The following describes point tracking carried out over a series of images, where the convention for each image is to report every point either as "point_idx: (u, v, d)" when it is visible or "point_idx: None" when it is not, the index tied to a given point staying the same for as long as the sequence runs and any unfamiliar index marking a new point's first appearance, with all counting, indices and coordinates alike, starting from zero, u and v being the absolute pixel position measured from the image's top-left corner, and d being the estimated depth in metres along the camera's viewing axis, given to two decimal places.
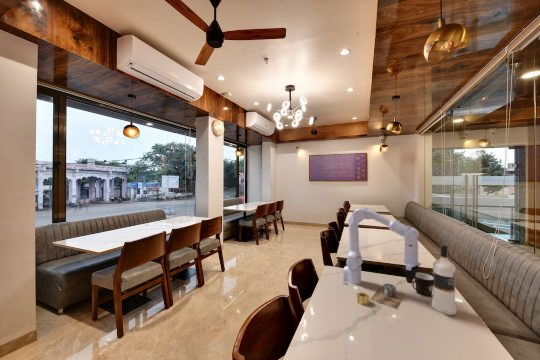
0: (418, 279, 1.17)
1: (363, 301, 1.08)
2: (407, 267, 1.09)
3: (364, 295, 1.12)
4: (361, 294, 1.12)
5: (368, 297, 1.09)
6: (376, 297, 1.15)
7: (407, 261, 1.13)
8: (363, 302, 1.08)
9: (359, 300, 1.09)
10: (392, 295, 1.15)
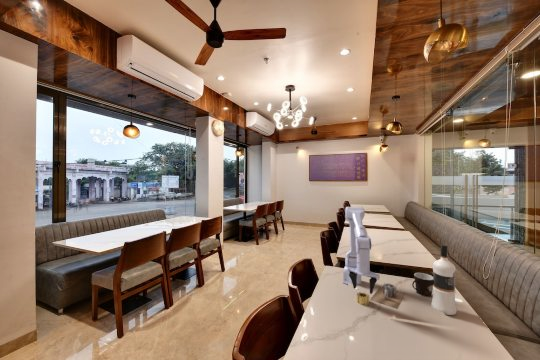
0: (418, 279, 1.17)
1: (363, 301, 1.08)
2: None
3: (364, 295, 1.12)
4: (361, 294, 1.12)
5: (368, 297, 1.09)
6: (376, 297, 1.15)
7: None
8: (363, 302, 1.08)
9: (359, 300, 1.09)
10: (392, 295, 1.15)
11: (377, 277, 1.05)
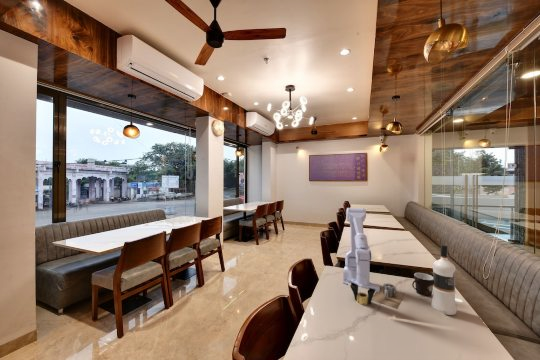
0: (418, 279, 1.17)
1: (363, 301, 1.08)
2: None
3: (364, 295, 1.12)
4: (361, 294, 1.12)
5: None
6: (376, 297, 1.15)
7: None
8: (363, 302, 1.08)
9: (359, 300, 1.09)
10: (392, 295, 1.15)
11: (377, 289, 1.05)
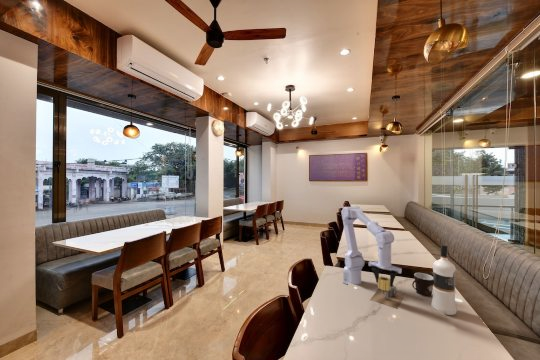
0: (418, 279, 1.17)
1: (384, 284, 1.10)
2: None
3: (385, 279, 1.13)
4: (382, 278, 1.14)
5: None
6: (376, 297, 1.15)
7: None
8: (384, 285, 1.10)
9: (380, 283, 1.11)
10: (392, 295, 1.15)
11: (399, 270, 1.08)
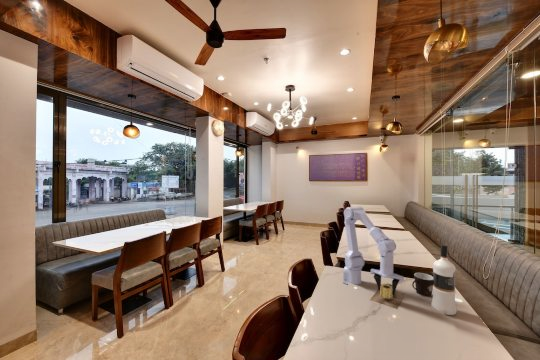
0: (418, 279, 1.17)
1: (387, 292, 1.11)
2: None
3: (387, 287, 1.14)
4: (384, 286, 1.14)
5: None
6: (376, 297, 1.15)
7: None
8: (387, 293, 1.11)
9: (382, 291, 1.12)
10: None
11: (401, 279, 1.08)
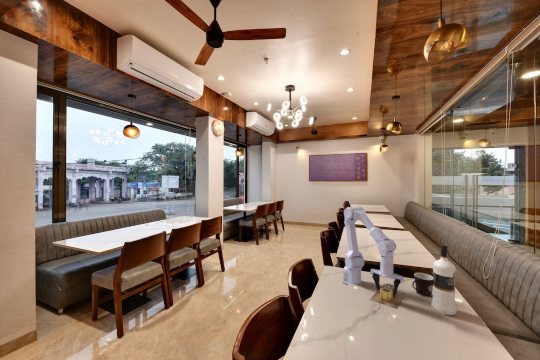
0: (418, 279, 1.17)
1: (387, 296, 1.11)
2: None
3: None
4: (384, 289, 1.14)
5: (392, 292, 1.11)
6: (376, 297, 1.15)
7: None
8: (387, 297, 1.11)
9: (383, 295, 1.12)
10: None
11: (401, 279, 1.08)
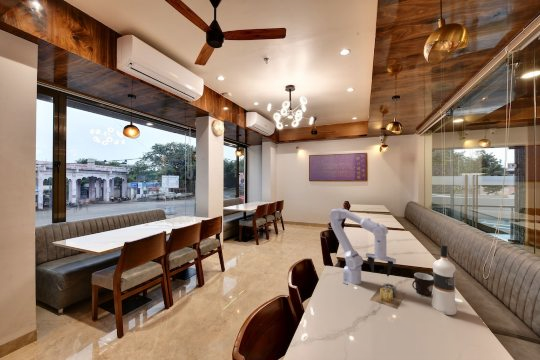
0: (418, 279, 1.17)
1: (387, 296, 1.11)
2: None
3: None
4: (384, 289, 1.14)
5: (392, 292, 1.11)
6: (376, 297, 1.15)
7: None
8: (387, 297, 1.11)
9: (383, 295, 1.12)
10: None
11: (394, 261, 1.17)
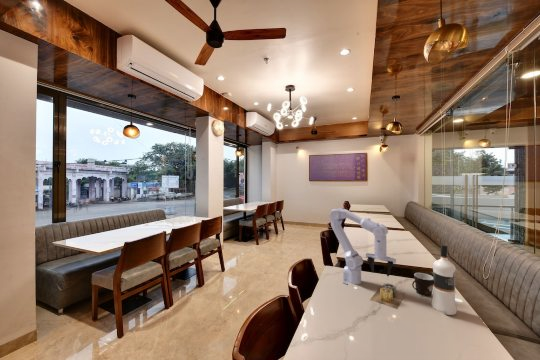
0: (418, 279, 1.17)
1: (387, 296, 1.11)
2: None
3: None
4: (384, 289, 1.14)
5: (392, 292, 1.11)
6: (376, 297, 1.15)
7: None
8: (387, 297, 1.11)
9: (383, 295, 1.12)
10: None
11: (394, 261, 1.17)
